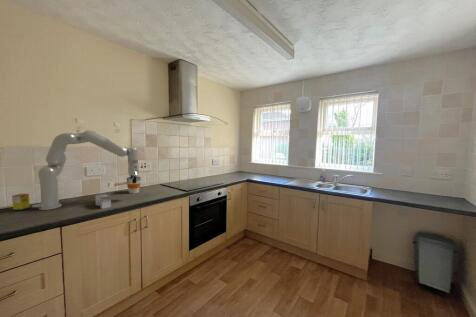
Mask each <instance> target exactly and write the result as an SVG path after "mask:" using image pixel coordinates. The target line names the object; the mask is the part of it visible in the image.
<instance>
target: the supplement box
mask: <svg viewBox="0 0 476 317" xmlns="http://www.w3.org/2000/svg"><path fill="white" fill-rule="evenodd" d="M11 199H12V201H11V202H12V211H25V210H27V209H30V194H29V193H18V194H14V195H13V194H12V196H11Z"/></svg>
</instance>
